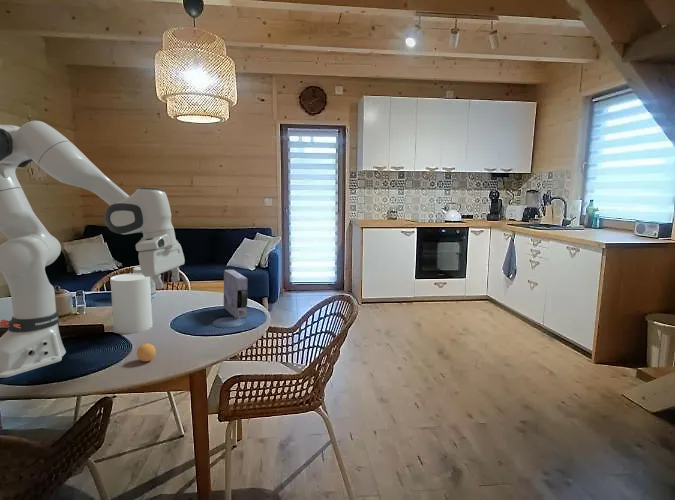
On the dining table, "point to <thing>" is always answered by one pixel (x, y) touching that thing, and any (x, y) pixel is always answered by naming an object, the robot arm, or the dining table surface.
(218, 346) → the dining table surface
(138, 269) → the supplement tub
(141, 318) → the canister
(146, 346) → the ball
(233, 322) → the disc
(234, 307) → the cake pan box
